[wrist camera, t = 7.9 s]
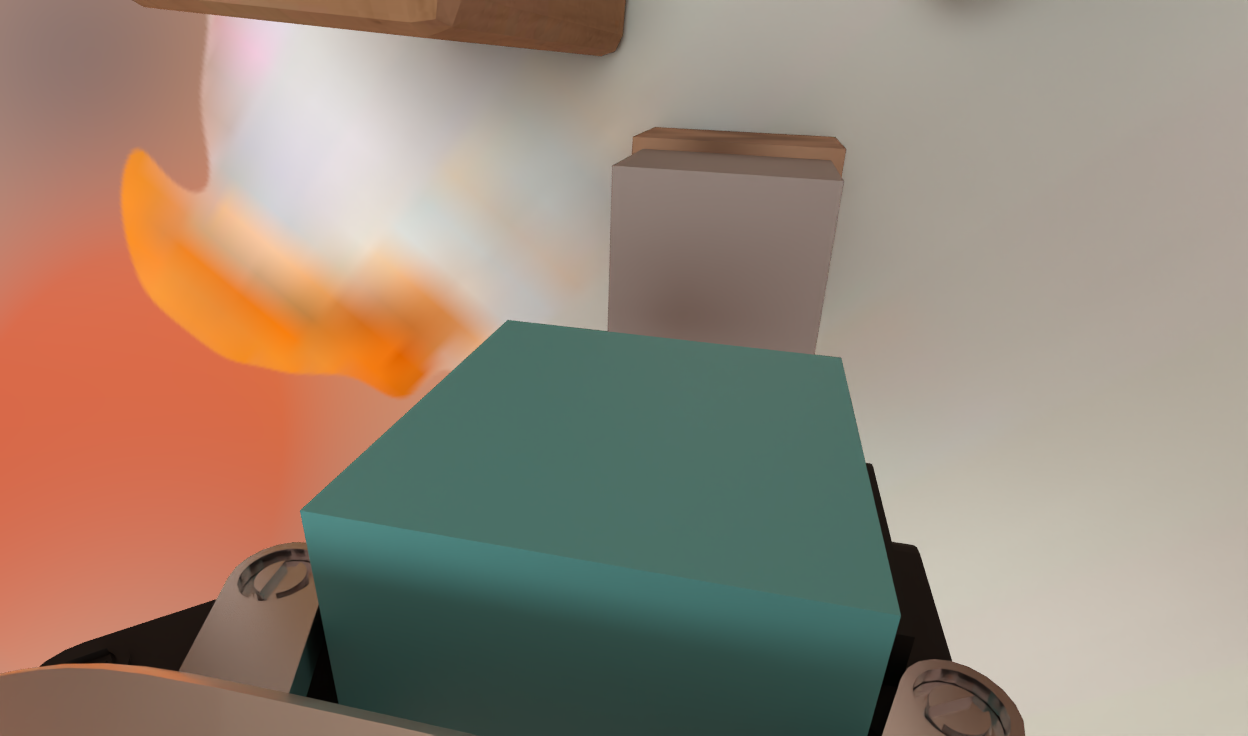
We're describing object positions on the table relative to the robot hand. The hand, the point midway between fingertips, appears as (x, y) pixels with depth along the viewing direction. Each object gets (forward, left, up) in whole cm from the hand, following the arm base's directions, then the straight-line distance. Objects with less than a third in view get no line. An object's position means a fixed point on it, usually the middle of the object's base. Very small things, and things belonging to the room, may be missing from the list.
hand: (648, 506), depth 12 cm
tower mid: (0, 0, -20) cm, 20 cm away
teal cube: (0, 0, -1) cm, 1 cm away
